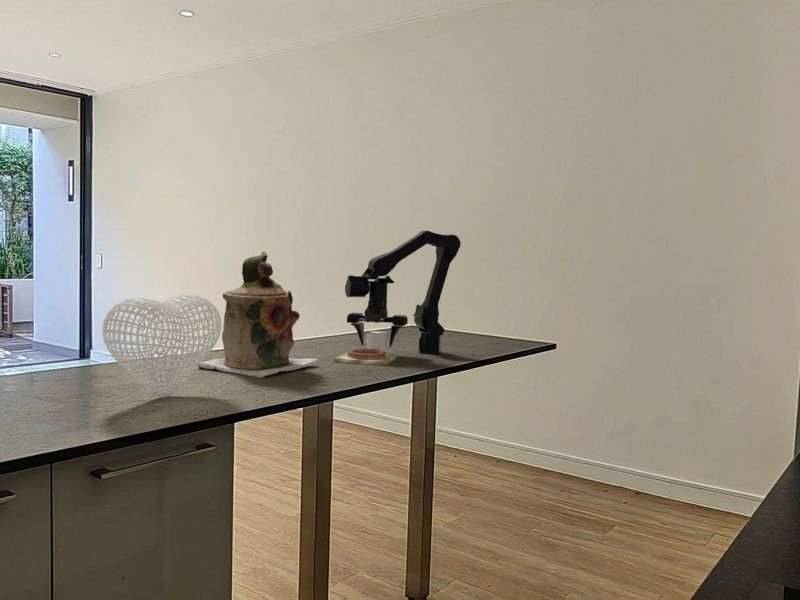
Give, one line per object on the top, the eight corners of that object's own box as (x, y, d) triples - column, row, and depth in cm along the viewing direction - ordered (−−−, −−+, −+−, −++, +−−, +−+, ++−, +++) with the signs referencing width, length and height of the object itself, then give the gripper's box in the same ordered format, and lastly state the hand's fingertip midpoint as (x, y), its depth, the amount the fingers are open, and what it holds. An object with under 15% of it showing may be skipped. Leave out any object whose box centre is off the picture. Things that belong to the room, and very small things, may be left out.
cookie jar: (192, 368, 192) (194, 249, 190) (252, 357, 214) (253, 250, 211) (265, 379, 181) (268, 253, 178) (320, 366, 203) (323, 253, 200)
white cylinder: (360, 353, 228) (361, 331, 227) (376, 351, 233) (376, 330, 232) (376, 356, 223) (376, 334, 222) (391, 354, 228) (392, 332, 227)
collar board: (397, 357, 221) (397, 349, 221) (387, 365, 207) (387, 356, 207) (347, 354, 225) (347, 346, 224) (334, 361, 210) (334, 353, 210)
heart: (140, 415, 140) (141, 302, 139) (86, 404, 147) (86, 297, 146) (234, 391, 165) (235, 295, 163) (184, 383, 172) (185, 291, 170)
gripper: (342, 297, 220) (341, 347, 222) (401, 300, 217) (400, 351, 218) (352, 295, 231) (350, 343, 233) (408, 298, 228) (407, 346, 229)
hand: (376, 346), depth 228 cm, fingers open, 9 cm apart
